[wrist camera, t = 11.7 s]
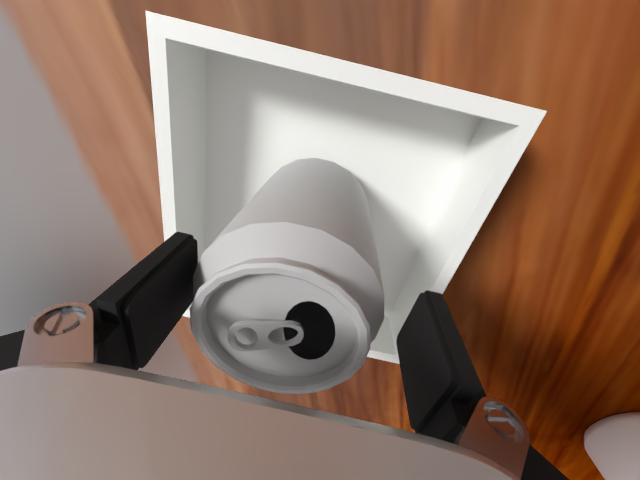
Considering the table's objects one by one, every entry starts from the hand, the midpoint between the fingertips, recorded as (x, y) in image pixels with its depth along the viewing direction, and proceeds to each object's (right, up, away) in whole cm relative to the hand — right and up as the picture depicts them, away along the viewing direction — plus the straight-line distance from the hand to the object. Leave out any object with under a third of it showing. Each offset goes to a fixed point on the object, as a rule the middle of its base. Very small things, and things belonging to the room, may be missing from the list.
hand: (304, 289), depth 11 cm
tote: (+1, +5, +9) cm, 10 cm away
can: (0, +4, +8) cm, 10 cm away
